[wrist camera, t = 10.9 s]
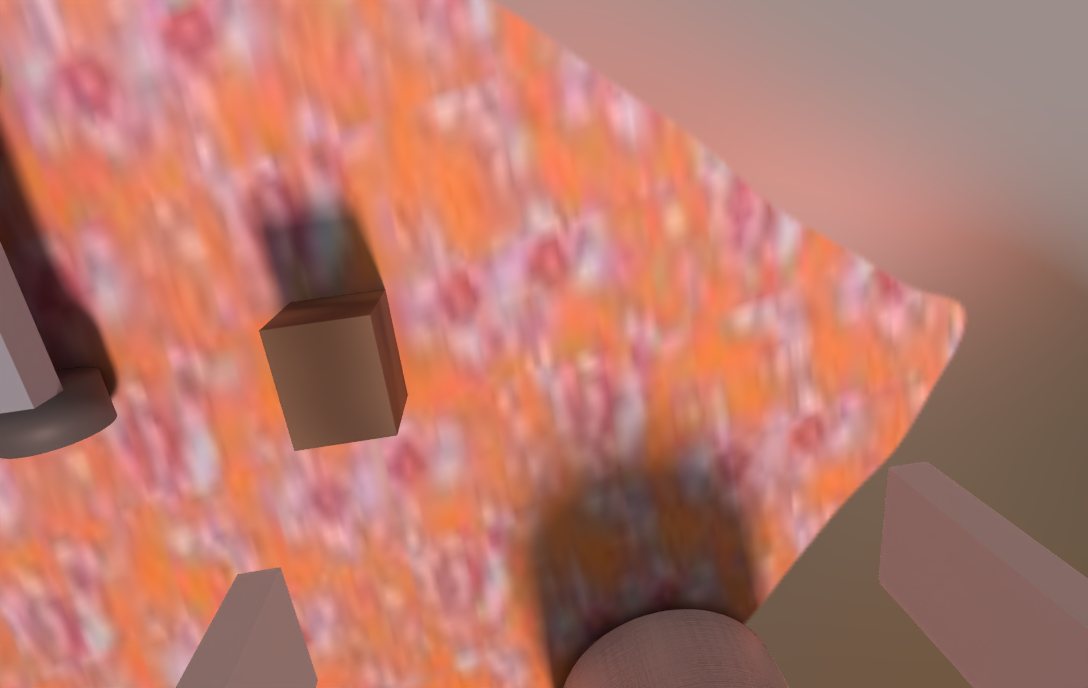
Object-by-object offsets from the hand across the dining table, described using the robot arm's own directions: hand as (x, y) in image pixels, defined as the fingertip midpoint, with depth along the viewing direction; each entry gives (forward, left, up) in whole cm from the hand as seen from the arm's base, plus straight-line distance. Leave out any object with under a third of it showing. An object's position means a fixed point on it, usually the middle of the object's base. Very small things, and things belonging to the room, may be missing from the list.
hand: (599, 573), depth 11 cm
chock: (-8, 0, -16) cm, 18 cm away
